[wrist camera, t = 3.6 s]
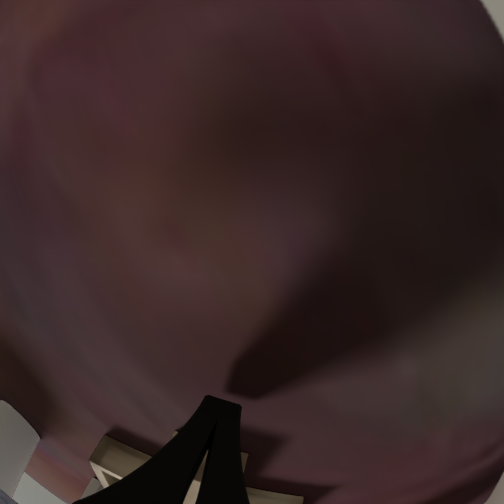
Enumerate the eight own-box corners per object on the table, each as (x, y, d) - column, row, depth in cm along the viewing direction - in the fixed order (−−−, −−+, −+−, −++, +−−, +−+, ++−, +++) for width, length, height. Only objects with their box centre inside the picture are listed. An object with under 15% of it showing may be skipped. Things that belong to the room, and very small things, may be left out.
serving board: (336, 469, 12) (335, 506, 10) (263, 524, 18) (259, 545, 16) (93, 393, 13) (71, 423, 11) (120, 479, 19) (110, 498, 17)
